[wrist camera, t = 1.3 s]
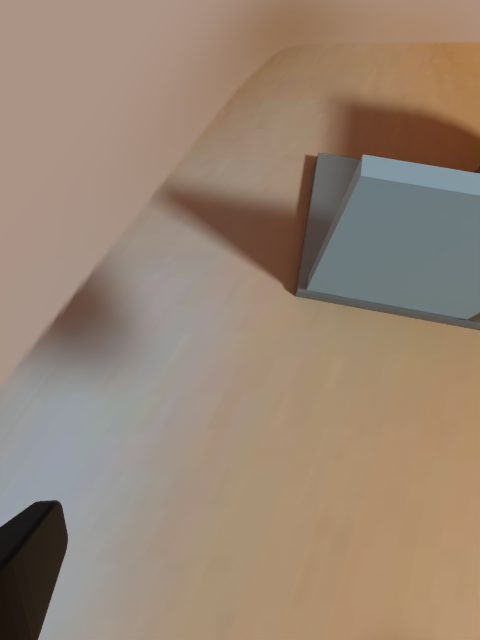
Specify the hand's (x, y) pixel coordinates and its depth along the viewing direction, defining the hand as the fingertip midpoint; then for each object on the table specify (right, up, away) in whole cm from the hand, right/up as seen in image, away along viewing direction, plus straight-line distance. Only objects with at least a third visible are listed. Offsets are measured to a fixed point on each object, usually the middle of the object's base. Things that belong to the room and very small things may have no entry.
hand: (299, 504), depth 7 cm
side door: (+8, +5, +15) cm, 18 cm away
